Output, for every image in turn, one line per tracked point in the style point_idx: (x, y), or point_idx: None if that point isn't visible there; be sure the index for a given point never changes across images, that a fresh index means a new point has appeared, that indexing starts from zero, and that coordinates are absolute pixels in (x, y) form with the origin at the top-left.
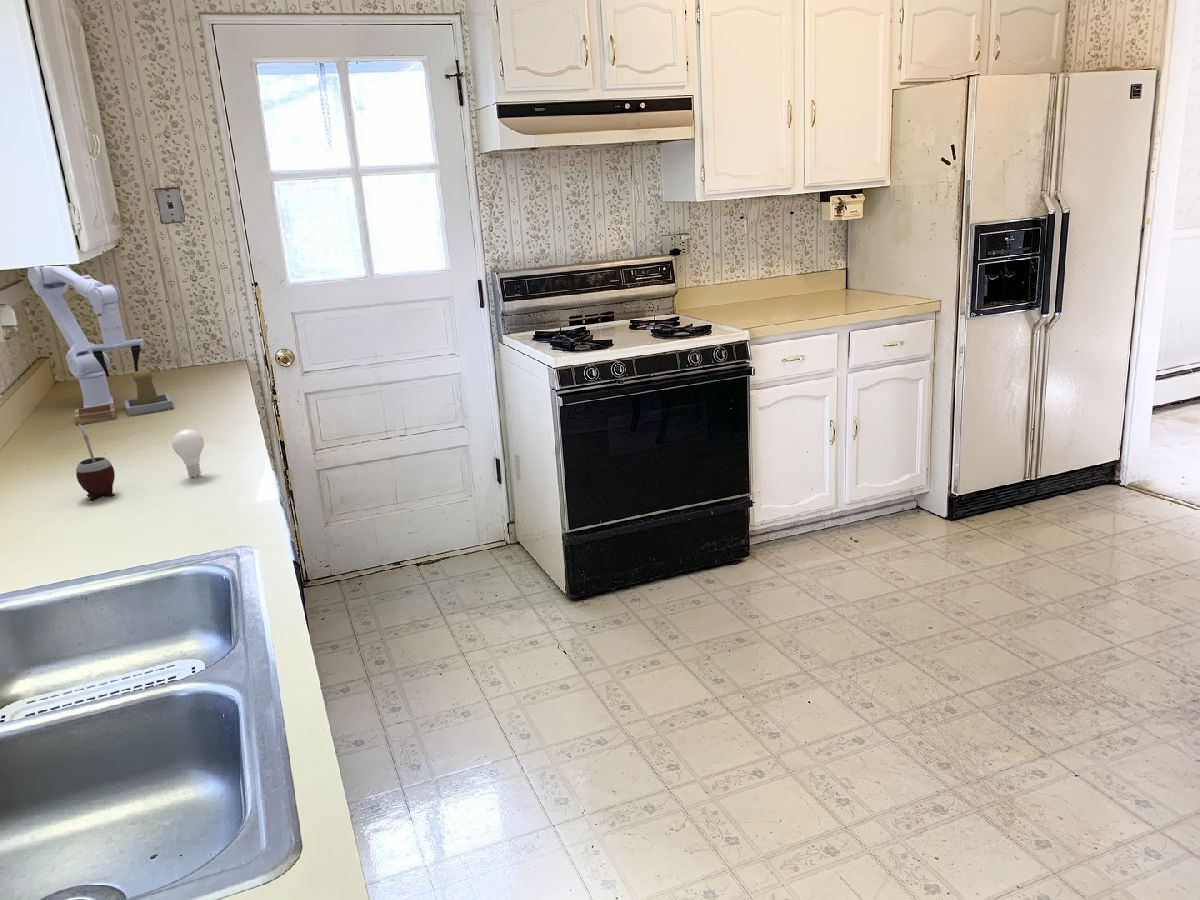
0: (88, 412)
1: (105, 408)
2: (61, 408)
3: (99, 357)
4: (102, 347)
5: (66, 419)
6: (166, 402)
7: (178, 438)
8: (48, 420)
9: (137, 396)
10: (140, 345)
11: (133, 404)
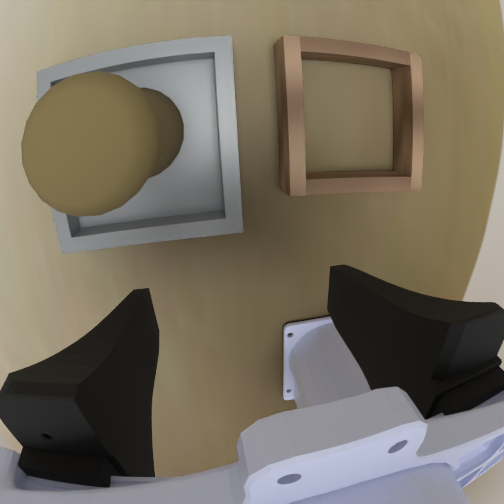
0: (376, 173)
1: (320, 175)
2: None
3: (464, 310)
4: (484, 414)
5: (425, 188)
6: (58, 65)
7: None
8: (458, 216)
9: (170, 126)
10: (9, 457)
11: (206, 213)
